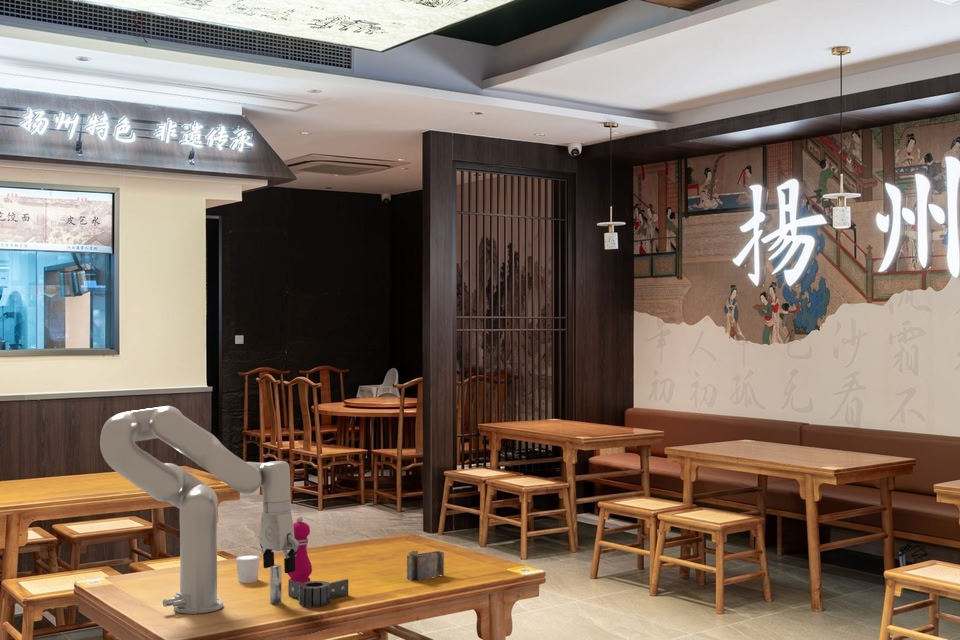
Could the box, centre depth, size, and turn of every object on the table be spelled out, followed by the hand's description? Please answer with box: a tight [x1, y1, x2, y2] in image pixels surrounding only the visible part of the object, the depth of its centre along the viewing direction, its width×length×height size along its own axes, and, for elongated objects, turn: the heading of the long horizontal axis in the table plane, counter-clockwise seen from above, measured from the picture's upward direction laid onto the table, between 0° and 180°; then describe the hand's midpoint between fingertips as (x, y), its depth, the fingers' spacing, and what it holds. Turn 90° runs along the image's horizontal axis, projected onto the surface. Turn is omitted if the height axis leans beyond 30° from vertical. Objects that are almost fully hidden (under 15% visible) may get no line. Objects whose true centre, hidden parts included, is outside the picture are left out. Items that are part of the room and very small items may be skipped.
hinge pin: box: [269, 564, 282, 605], centre depth 264 cm, size 3×3×10 cm
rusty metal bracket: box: [406, 549, 445, 582], centre depth 291 cm, size 11×3×10 cm, turn 123°
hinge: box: [287, 578, 349, 608], centre depth 269 cm, size 16×16×5 cm
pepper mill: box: [286, 516, 313, 583], centre depth 283 cm, size 7×7×20 cm
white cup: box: [235, 554, 261, 584], centre depth 289 cm, size 7×7×7 cm
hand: (279, 569), depth 264 cm, fingers open, 9 cm apart
